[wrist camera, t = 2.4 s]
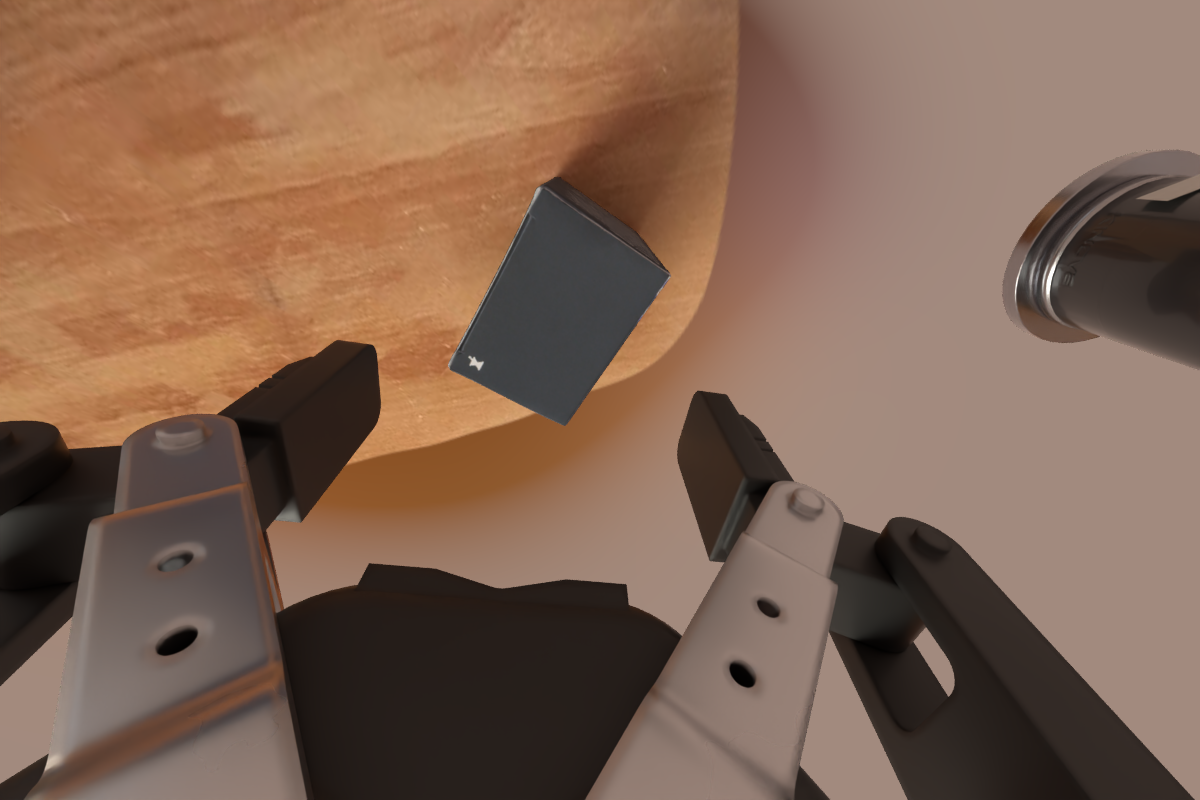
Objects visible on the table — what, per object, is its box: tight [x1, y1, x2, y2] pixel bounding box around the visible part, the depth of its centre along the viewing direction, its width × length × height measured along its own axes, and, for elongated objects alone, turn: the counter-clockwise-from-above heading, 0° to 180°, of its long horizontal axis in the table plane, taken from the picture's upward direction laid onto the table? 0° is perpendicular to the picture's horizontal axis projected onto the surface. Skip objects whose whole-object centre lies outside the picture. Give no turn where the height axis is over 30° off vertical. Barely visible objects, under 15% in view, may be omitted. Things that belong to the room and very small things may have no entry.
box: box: [448, 177, 671, 426], centre depth 21 cm, size 8×6×11 cm
